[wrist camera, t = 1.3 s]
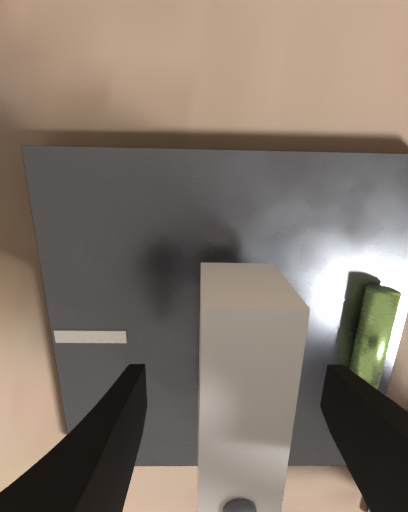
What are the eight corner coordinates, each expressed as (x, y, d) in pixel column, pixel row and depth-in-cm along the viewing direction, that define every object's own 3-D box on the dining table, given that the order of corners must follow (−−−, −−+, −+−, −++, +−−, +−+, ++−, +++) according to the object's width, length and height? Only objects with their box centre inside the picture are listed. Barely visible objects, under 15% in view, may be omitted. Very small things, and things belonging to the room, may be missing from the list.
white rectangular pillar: (264, 254, 13) (313, 312, 7) (251, 408, 15) (280, 535, 10) (200, 253, 13) (201, 311, 7) (198, 408, 15) (197, 535, 10)
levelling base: (420, 157, 13) (480, 152, 10) (354, 442, 18) (382, 490, 15) (41, 148, 13) (-4, 141, 10) (82, 442, 18) (61, 492, 15)
